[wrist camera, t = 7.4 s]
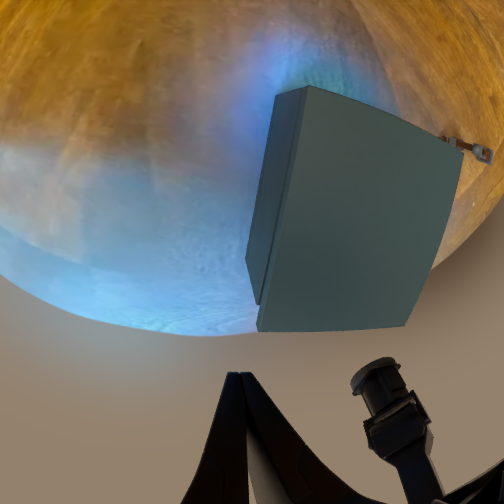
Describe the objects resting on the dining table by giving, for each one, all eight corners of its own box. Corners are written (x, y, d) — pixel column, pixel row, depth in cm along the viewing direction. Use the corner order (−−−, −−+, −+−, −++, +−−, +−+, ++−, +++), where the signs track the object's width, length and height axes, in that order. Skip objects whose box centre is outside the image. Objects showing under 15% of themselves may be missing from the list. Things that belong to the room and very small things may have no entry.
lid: (399, 320, 19) (404, 326, 18) (255, 323, 16) (257, 332, 15) (456, 151, 13) (464, 152, 13) (302, 87, 11) (308, 84, 10)
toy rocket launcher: (441, 128, 17) (486, 141, 14) (461, 138, 21) (495, 150, 18) (438, 147, 18) (483, 162, 15) (459, 153, 22) (492, 166, 18)
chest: (366, 268, 24) (398, 306, 19) (245, 259, 22) (256, 305, 17) (407, 137, 18) (455, 150, 13) (275, 95, 16) (302, 86, 11)
